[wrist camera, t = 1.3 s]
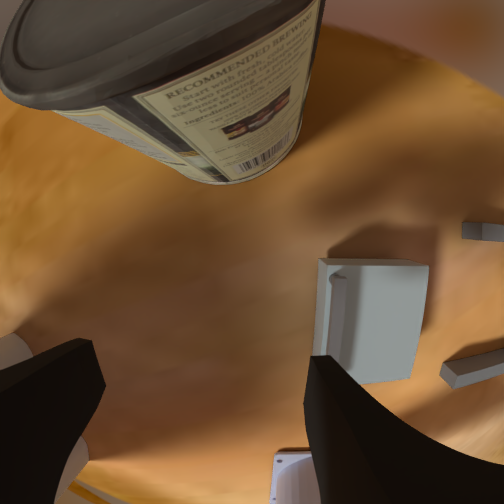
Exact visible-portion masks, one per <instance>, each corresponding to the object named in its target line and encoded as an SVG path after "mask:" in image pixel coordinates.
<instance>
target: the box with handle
mask: <svg viewBox="0 0 504 504" xmlns="http://www.w3.org/2000/svg"><path fill="white" fill-rule="evenodd" d="M428 274H429V266H428V265H425V264H421V263H418V262H414V261H411V260H408V259H345V258H319V260H318V283H317V301H316V316H315V329H314V341H313V352H312V356H318V355H331V356H332V357H333V358H334V359H335V360H336V361H337V362H338V363H339V364H340V366H341V367H342V368H343V369H344V370H345V371H346V372H347V373H348V374H349V375H350V376H351V377H352V378H353V379H354V380H355V381H356V382H357V383H358V384H368V383H378V382H387V381H395V380H402V379H409V378H410V375H411V372H412V368H413V364H414V360H415V355H416V351H417V346H418V341H419V336H420V331H421V326H422V320H423V314H424V307H425V300H426V293H427V284H428Z"/></svg>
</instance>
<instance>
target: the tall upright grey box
mask: <svg viewBox="0 0 504 504" xmlns="http://www.w3.org/2000/svg"><path fill="white" fill-rule="evenodd" d="M31 357H33V355H32V353H31V350H30V348H29V347H28V345H27V344H26V342H25V341H24V340H23V339H21V338H20V337H19V336H18V335H16V334H15V333H11V334H9V335H6V336H4V337H2V338H0V370H2V369H4V368H7V367H10V366H12V365H15V364H17V363H19V362H22V361H24V360H27V359H29V358H31ZM88 461H89V453H88V447H87V444H86V442H85V440H84V439H83V437H82V436H80V438H79V440H78V441H77V443H76V445H75V446H74V448H73V450H72V452H71V454H70V456H69V458H68V460H67V463H66V465H65V468H64V471H63V473H62V476H61V479H60V482H59V486H58V489H57V493H56V496H55V501H54V504H55V503H56V501H57V500H58V499H59V498H60V496H61V495H62V494H63V493H64V491H65V490H66V489H67V488H68V486H69V485H70V484H71V483H72V481H73V480H74V479H75V478H76V476H77V475H78V474H79V473H80V471H81V470H82V469H83V468H84V466H85V465H86V464H87V463H88Z"/></svg>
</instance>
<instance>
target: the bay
mask: <svg viewBox="0 0 504 504" xmlns="http://www.w3.org/2000/svg"><path fill="white" fill-rule="evenodd" d="M462 238H463V239H473V240H482V241H498V242H504V225H499V224H491V223H480V222H462ZM501 374H504V348H503V349H499V350H495V351H492V352H488V353H484V354H480V355H476V356H472V357H468V358H463V359H459V360H454V361H449V362H444V363H443V364H442V368H441V371H440V376H441V377H442V378H443V379H444V380H445V381H446V382H447V383H448V384H449V386H450V387H451V388H452V389H456V388H460V387H464V386H467V385H470V384H474V383H477V382H480V381H483V380H486V379H489V378H492V377H495V376H498V375H501Z"/></svg>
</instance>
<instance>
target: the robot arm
mask: <svg viewBox="0 0 504 504" xmlns="http://www.w3.org/2000/svg"><path fill="white" fill-rule="evenodd" d="M105 387H106V384H105V381H104V378H103V375H102V372H101V369H100V366H99V363H98V360H97V357H96V353H95V350H94V347H93V343H92V340H87V339H82V338H77V339H74V340H71V341H68V342H66V343H63V344H61V345H58V346H56V347H54V348H52V349H49V350H47V351H45V352H43V353H40V354H38V355H36V356H34V357H31V358H29V359H27V360H24V361H22V362H19V363H17V364H15V365H12V366H10V367H7V368H4V369H2V370H0V504H54V501H55V496H56V493H57V489H58V486H59V482H60V479H61V476H62V473H63V471H64V468H65V465H66V463H67V460H68V458H69V456H70V454H71V452H72V450H73V448H74V446H75V445H76V443H77V441H78V440H79V438H80V436H81V434H82V433H83V431H84V429H85V428H86V426H87V424H88V423H89V421H90V419H91V418H92V416H93V414H94V412H95V411H96V409H97V407H98V405H99V402H100V400H101V398H102V395H103V392H104V390H105ZM303 404H304V415H305V425H306V432H307V437H308V441H309V446H310V450H311V451H300V452H277V453H275V455H274V463H273V473H272V483H271V492H270V502H269V503H270V504H504V465H501V464H496V463H492V462H488V461H485V460H481V459H478V458H475V457H472V456H469V455H466V454H464V453H461V452H458V451H456V450H454V449H451V448H449V447H447V446H445V445H443V444H441V443H439V442H437V441H435V440H433V439H431V438H429V437H427V436H426V435H424V434H422V433H421V432H419V431H418V430H416V429H414V428H413V427H411V426H410V425H408V424H407V423H405V422H404V421H402V420H401V419H399V418H398V417H397V416H395V415H394V414H393V413H391V412H390V411H389V410H388V409H386V408H385V407H384V406H383V405H381V404H380V403H379V402H378V401H377V400H376V399H374V398H373V397H372V396H371V395H370V394H369V393H368V392H367V391H366V390H365V389H363V388H362V387H361V386H360V385H359V384H358V383H357V382H356V381H355V380H354V379H353V378H352V377H351V376H350V375H349V374H348V373H347V372H346V371H345V370H344V369H343V368H342V367H341V366H340V364H339V363H338V362H337V361H336V360H335V359H334V358H333V357H332V356H331V355H318V356H310V363H309V370H308V377H307V384H306V390H305V397H304V403H303ZM279 459H280V460H279Z"/></svg>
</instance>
